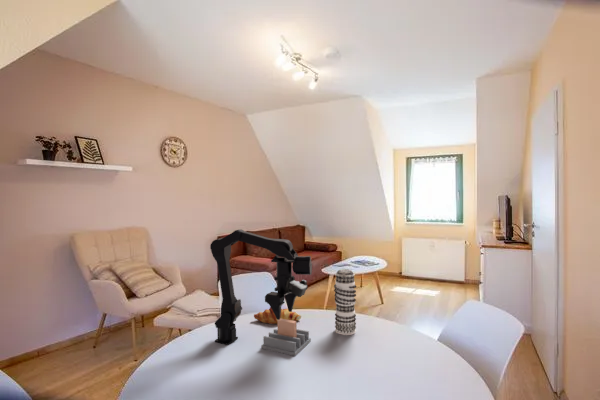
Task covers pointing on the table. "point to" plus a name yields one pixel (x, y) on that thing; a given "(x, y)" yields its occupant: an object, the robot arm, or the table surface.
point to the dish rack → (286, 342)
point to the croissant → (270, 317)
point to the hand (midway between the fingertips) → (284, 315)
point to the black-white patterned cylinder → (345, 302)
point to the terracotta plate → (287, 327)
